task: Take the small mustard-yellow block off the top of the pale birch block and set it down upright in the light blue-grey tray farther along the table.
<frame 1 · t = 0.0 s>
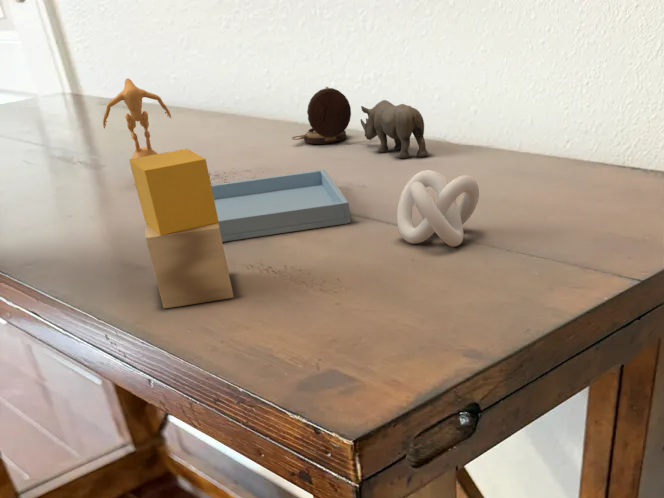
tray: (262, 215, 90), on the table
knot: (443, 240, 79), on the table
figurine: (152, 184, 105), on the table
base block: (197, 291, 72), on the table, touching top block
top block: (181, 222, 69), point 6 cm above the table, touching base block
compass: (320, 143, 117), on the table
rhino figurine: (391, 152, 110), on the table
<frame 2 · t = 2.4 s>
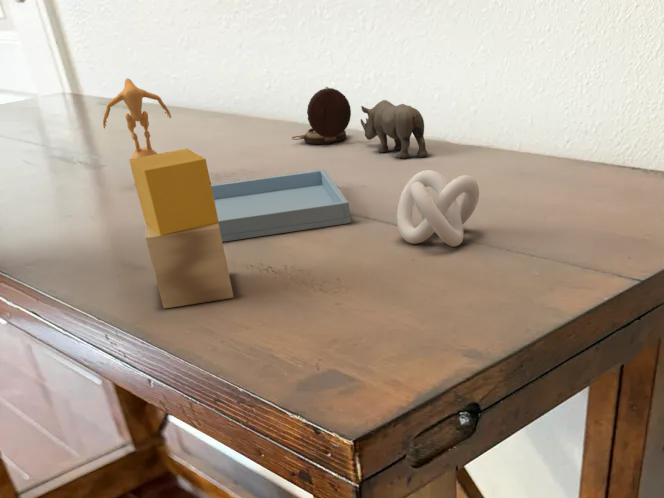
nothing on the table moved.
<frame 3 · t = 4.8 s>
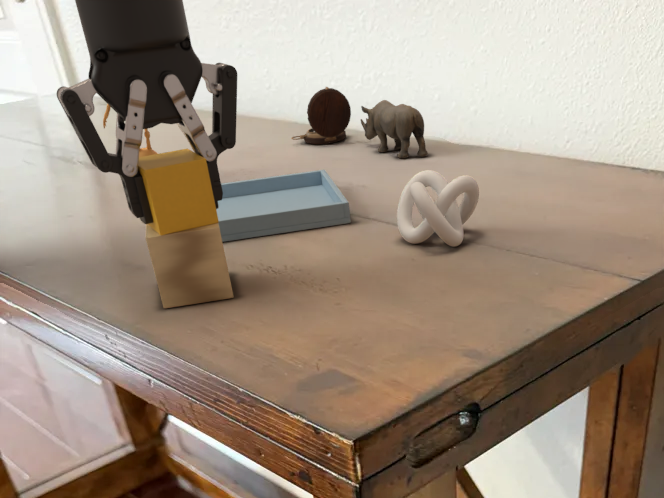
hand: (179, 213, 68), 7 cm above the table, tool pointing down, fingers closed on top block, 5 cm apart
top block: (181, 222, 69), point 6 cm above the table, touching base block, gripper
everything else where it was.
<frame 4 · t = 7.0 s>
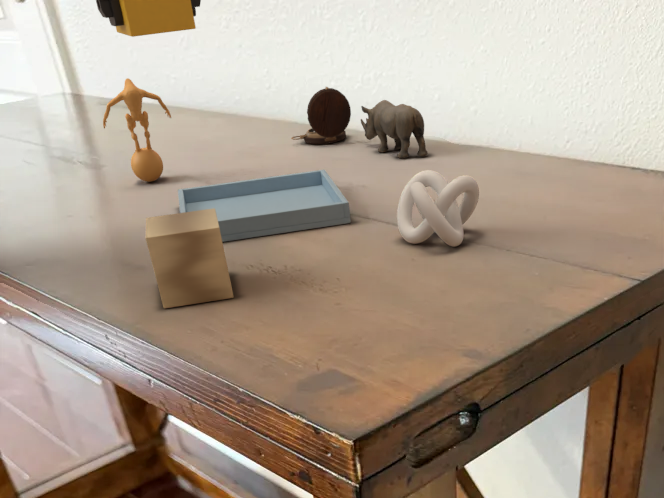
hand: (153, 19, 63), 20 cm above the table, tool pointing down, fingers closed on top block, 5 cm apart
base block: (197, 291, 72), on the table
top block: (155, 30, 63), point 19 cm above the table, touching gripper
everything else where it was.
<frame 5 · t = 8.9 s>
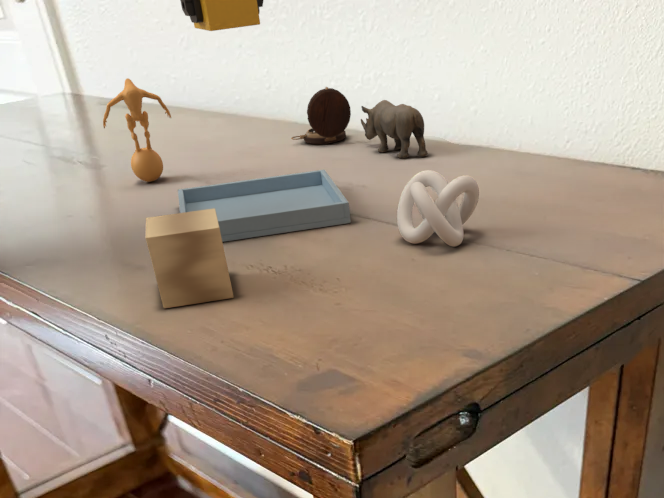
hand: (225, 17, 78), 19 cm above the table, tool pointing down, fingers closed on top block, 5 cm apart
top block: (227, 26, 78), point 18 cm above the table, touching gripper
everything else where it was.
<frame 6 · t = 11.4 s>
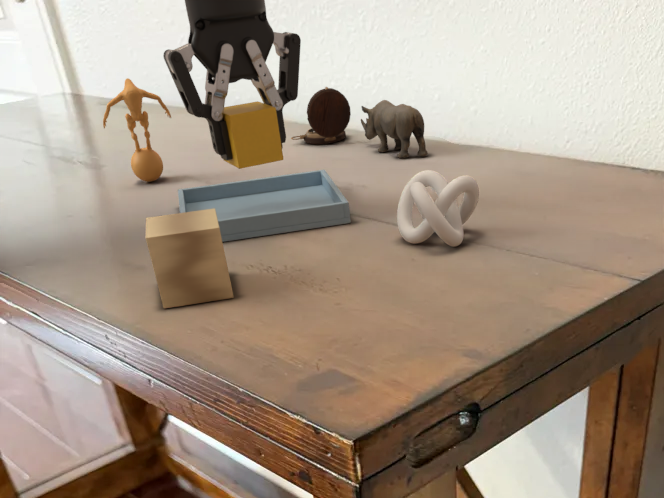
hand: (251, 153, 86), 6 cm above the table, tool pointing down, fingers closed on top block, 5 cm apart
top block: (253, 160, 86), point 6 cm above the table, touching gripper
everything else where it was.
when the fingers open (1 cm above the table, at t = 13.1 s): top block stays where it is, resting on tray.
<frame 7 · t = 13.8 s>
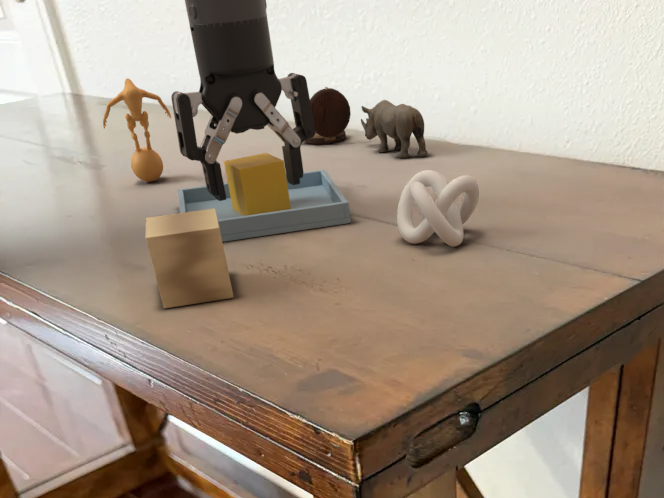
hand: (257, 191, 88), 3 cm above the table, tool pointing down, fingers open, 8 cm apart
top block: (261, 209, 90), point 1 cm above the table, touching tray
everything else where it was.
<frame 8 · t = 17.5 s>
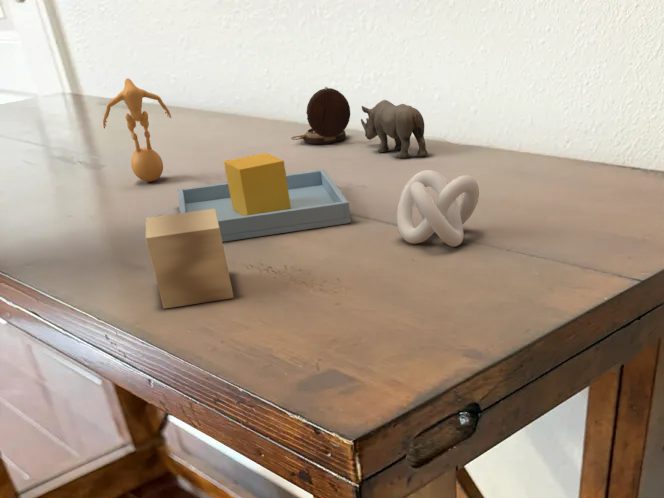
nothing on the table moved.
at the end: top block inside the target area in the tray (0.1 cm from its centre), point 0.6 cm above the tray's base; top block tilted 0°; base block moved 0.0 cm from its start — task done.
